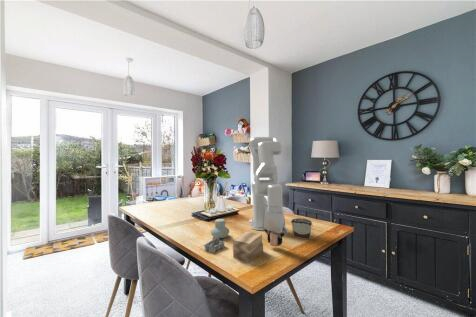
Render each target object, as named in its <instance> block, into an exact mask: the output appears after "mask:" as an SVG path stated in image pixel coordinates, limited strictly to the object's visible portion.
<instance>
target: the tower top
mask: <svg viewBox="0 0 476 317" xmlns="http://www.w3.org/2000/svg"><path fill="white" fill-rule="evenodd" d="M262 243H263V234H262V233H258V232H257V233H256V232H251V231H245V232H243V233H241V234H240V235H239V236H237V237H235V238H233V239H232V250H233V249H234V250H238V251H242V252H246V253H251V252H252V251H253V250H255V249H256V248H257V247H258V246H260V245H261V244H262Z"/></svg>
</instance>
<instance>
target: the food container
mask: <svg viewBox="0 0 476 317" xmlns="http://www.w3.org/2000/svg"><path fill="white" fill-rule="evenodd" d="M290 223H291V228H292V234H293V235H292V237H293V238H299V239H303V240H308V239H309V240H311V233H312V232H311V231H312V227H313V222H312V221H311V219H307V218H301V217H299V218H292V219H291V221H290Z"/></svg>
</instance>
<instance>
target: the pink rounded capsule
mask: <svg viewBox="0 0 476 317" xmlns="http://www.w3.org/2000/svg"><path fill="white" fill-rule="evenodd" d="M278 237H279V236H278V233H277V232H273V231H271V232H270V243H269V245H270V246H271V247H279V246H280V245H278Z"/></svg>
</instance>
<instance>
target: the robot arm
mask: <svg viewBox="0 0 476 317" xmlns="http://www.w3.org/2000/svg"><path fill="white" fill-rule="evenodd" d="M248 144H249V149H250V153H251V157H252V171H253V173H252V174H253V181H252V182H251V186H250V187H251V191H252V192H251V193H252V217H253V218H249V220H248V223H250V224H251V225H250V228H251V229H253V230H256V231H264V232H265V233H266V235H267V243H269V244H270V232H271V231H273V232H277V233H278V236H279V237H278V245H279V246H281V245H283V237H284V236H285V235H287V234H289V230H288V229H287V226H286V219H285V213H284V211H283V186H282V185H281V184H280V182H279V181H278V179H279V178H278V174H279V173H278V166H277V165H276V163H275V158H274V156H279V155H281V154H282V152H283V147H282V144H281V141H280V140H279V139H278V138H276V137H274V136H256V137H252V138H250V139H249V143H248ZM263 178H264V179H263ZM266 178H267V179H266ZM266 197H267V198H266Z"/></svg>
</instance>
